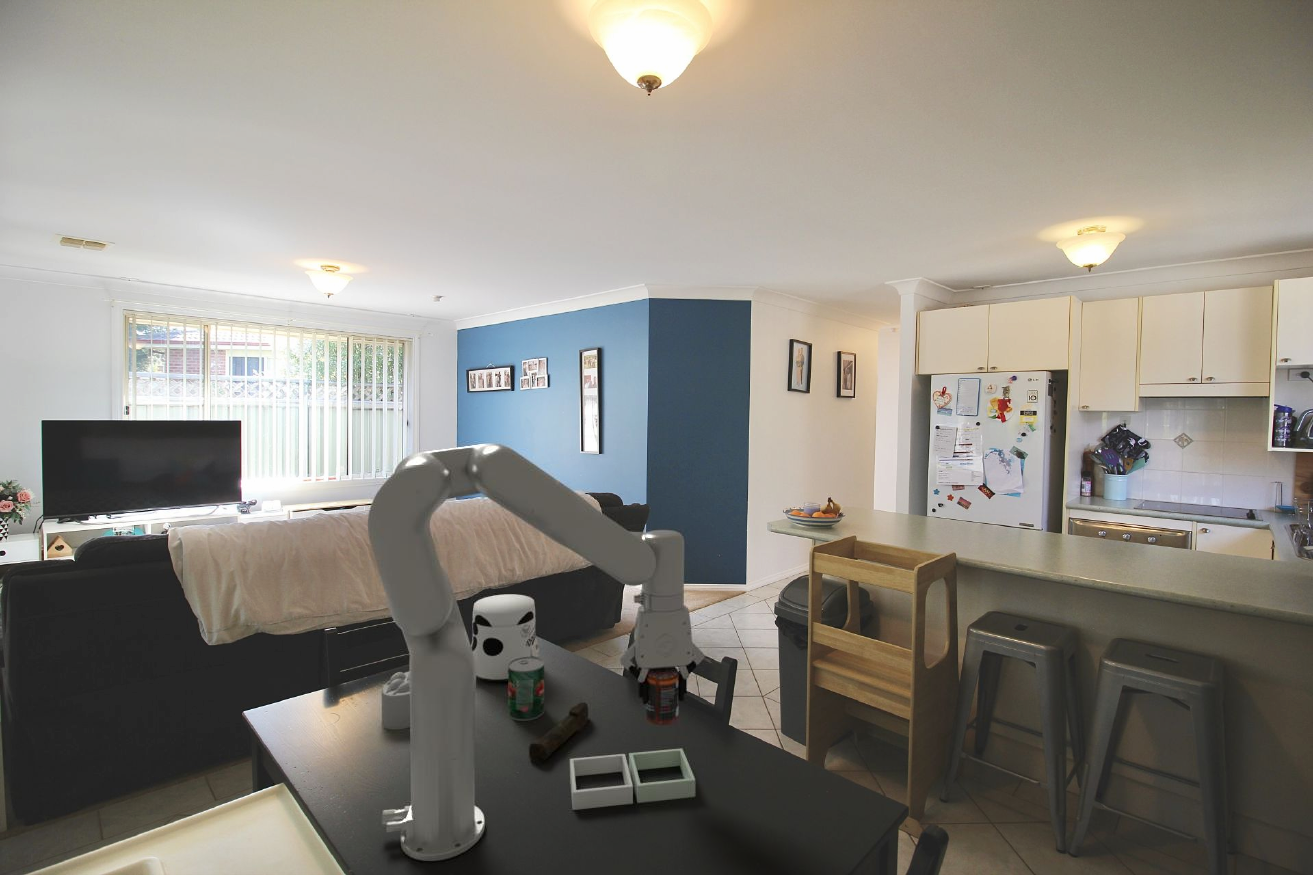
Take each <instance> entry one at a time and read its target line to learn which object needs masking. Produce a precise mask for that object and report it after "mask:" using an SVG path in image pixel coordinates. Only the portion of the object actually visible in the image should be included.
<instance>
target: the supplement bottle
mask: <svg viewBox="0 0 1313 875" xmlns="http://www.w3.org/2000/svg"><path fill="white" fill-rule="evenodd" d="M678 671H679V669H678V668H677V667H667V668H653V669H649V670H648V673H647V675H646V680H647V683H648V703H646V704H645V718H646V720H647V721H648V722H649V723H650V724H652V725H657V726H663V727H664V726H668V725H672V724H674V723H676V721H678V719H679V704H680V703H679V702H680V700H679V698H678V697H679V674H678Z"/></svg>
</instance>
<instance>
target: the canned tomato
mask: <svg viewBox="0 0 1313 875" xmlns="http://www.w3.org/2000/svg"><path fill="white" fill-rule="evenodd" d="M507 682H508V684H507V686H508V687H507V688H508V690H507V692H508V695H507V696H508V698H507V699H508V702H507V706H508V707H507V708H508V712H507V715H508V717H509V718H510V719H511V720H514V721H518V722H529V721H533V720H536V719H538V718H540V717H542V716H543V714H545V661H544V659H542V658H540V657H538V658H537V657H521V658H517V659H514V660H512V661H511V662H510V663H509V664H508V681H507Z"/></svg>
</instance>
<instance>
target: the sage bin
mask: <svg viewBox="0 0 1313 875" xmlns="http://www.w3.org/2000/svg"><path fill="white" fill-rule="evenodd" d="M628 756H629V757H628V769H629V773H630V777H631V781H632V785H633V792H634V795H635V799H636V803H637V804H640V803H649V802H650V803H651V802H660V801H666V800H667V801H668V800H677V799H687V798H694V797H696V778H695V775H694V773H693V771H692V769H691V766H690V764H689V762H688V760H687V756H686V755H685V752H684V750H683V748H682V747H681V748H673V749H672V748H671V749H663V750H651V751H641V752H639V751H638V752H629V753H628ZM670 767H671V768H672V767H679V768H680V770H681V771H680V772H681V773H682V776H683V778H681V779H679V778H678V779H673V780H670V779H669V780H661V781H651V782H643V783H641V781H640V780H641V779H640V777H639V773H638V771H639V770H640V771H641V770H649V769H650V770H651V769H660V768H662V769H663V768H670Z"/></svg>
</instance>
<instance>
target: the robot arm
mask: <svg viewBox="0 0 1313 875" xmlns="http://www.w3.org/2000/svg"><path fill="white" fill-rule="evenodd" d="M479 494H482V495H483V496H484V497H486V498H488V499H489V500H491V501H492V502H493V503H495V504H496V505H499V506H500V507H501V508H503V509H505V510H507V512H509V513H511V514H512V515H514V516H516V517H517V518H519V519H521V521H524V523H526V524H528V525H529V526H531V527H532V528H533V529H536V530H537V531H538V532H540V533H542V534H543V535H544V536H546V537H547V538H549V539H550V540H551V541H553V542H555V543H557V544H559V545H561V546H563V547H565V548H567V549H568V550H571V551H572V552H574V554H577V555H579V556H580V557H581V558H583V559H584V560H586V561H587V562H589V563H590V564H592V565H593V566H595V567H597V568H598V569H600V570H601V571H603V572H604V573H606V574H607V575H609V576H611V577H612V578H613V579H615V580H616V581H618V582H620V583H621V584H623V585H626V586H629V587H636V586H641V589H640V592H639V594H637V595H636V594H635V595H633V603H634V604H638V605H640V606H639V607H638V608H637V612H636V616H635V617H636V619H635V624H634V636H633V643H632V644H631V645H630V647H629V648H628V649H627V650H625V652H624V653H623V654H622V655H621V656H620V657H619V663H620V664H621V665H622V666H623V667H624V668H625V669H626V670H627V671H628V672H629V673H630V674H631V675H632V676H633V677H634V678H635V679H636V680H637V697H638V698H639V699H640V698H641V701H642V704H643V705H646V703H648V683H647V680H646V675H647V673H648V670H649V669H653V668H667V667H675V668H677V669H678V674H679V697H678V698H679V702H684V701H685V695H686V694H687V693H688V691H687V690H688V688H687V687H688V684H687V683H688V679H689V677H690V674H692V673H693V671H694V670H695V669H696V668H697V666H698V665H699V664H700V663H701V662H702V661H703V660H704V659H705V656H706V655H705V654H704V652H703V651H702V650H701V649H700V648H699V647H698V646H697V645H696V644H695V643H694V642H693V633H692V632H693V631H692V622H691V616H690V611H689V608H688V607H687V606H686V605H685V603H684V602H685V583H684V582H685V538H684V536H683V535H682V534H681V533H680V532H678V531H677V530H671V529H670V530H669V529H656V530H650V531H646V532H644V531H629V530H627V529H626V528H624V527H623V526H622V525H620V524H618V522H616V521H614V520H613V519H611V518H610V517H608V516H607V515H605V513H603V512H601V511H600V510H599V509H598V508H596V507H594V506H593V505H592V504H591V503H590V502H588V501H587V500H586V499H585V498H583V497H582V496H581V495H579V494H578V493H577V492H575V491H574V490H573V489H571V488H570V487H568V485H567V486H566V485H565V484H564V483H562V482H561V481H559V480H557V479H556V478H555V477H554V476H552V475H551V474H549V473H547V472H546V471H544V470H543V469H541V467H539V466H538V465H536V464H535V463H533V462H532V461H530V460H529V459H527V458H526V457H524V456H523V455H521V454H520V453H518V452H517V451H515V450H514V449H512V448H511V447H509V446H506V445H503V444H501V443H496V442H491V443H490V442H489V443H488V442H487V443H481V444H477V445H470V446H469V445H468V446H461V447H454V448H448V449H447V448H446V449H439V450H431V451H423V452H417V453H413V454H410V455H408V456H407V457H405V458H403V459H402V460H401V461H400V462H399V464H397V466H396V468H395V470H394V473H392V474H391V476H389V478H388V479H386V481H385V482H384V483H383V484H382V485H381V487H380V488H379V490H377V492H376V494H375V496H374V498H373V499H372V503H371V505H370V508H369V512H368V516H367V517H368V518H367V532H368V538H369V542H370V546H371V548H372V553H373V556H374V559H375V562H376V567H377V570H378V574H379V577H380V580H381V583H382V586H383V589H384V592H385V596H386V599H387V604H388V608H389V609H388V610H389V613H390V616H391V618H392V620H393V621H394V623H395V624H396V625H397V627H398V629H399V628H400V629H401V631H402V634H403V637H404V641H405V643H406V646H407V650H408V652H409V662H408V664H409V665H408V666H409V671H410V677H409V683H410V727H409V728H410V729H409V732H410V733H409V734H410V738H409V739H410V741H409V743H410V805H405V806H404V808H400V809H398V808H397V809H396V808H394V809H384V810H382V816H381V824H382V825H386V830H385V831H386V833H391V832H399V831H401V832H400V847H401V850H402V851H403V852H404V853H405V855H407V857H410V858H412V859H415V860H418V861H423V862H435V861H443V860H444V861H445V860H448V859H451V858H453V857H456V856H459V855H460V854H462V853H465V852H466V851H468V850H469V849H471V848H472V847H473V846H474V845H475V844H476V843H478V841H479V840H480V839H481V838H482V836H483V834H484V832H485V828H486V827H485V826H486V822H485V821H486V818H485V814H484V813H483V811H482V810H481V809H480V808H479V807H478V806H476V804H475V802H476V801H475V796H476V795H475V791H476V790H475V785H476V784H475V783H476V782H475V781H476V780H475V778H476V777H475V776H476V775H475V774H476V772H475V769H476V768H475V767H476V766H475V760H476V759H475V758H476V757H475V751H476V750H475V705H476V704H475V703H476V702H475V701H476V687H477V677H476V665H475V659H474V655H473V651H472V648H471V643H470V642H471V641H470V639H469V636H468V632H467V630H466V627H465V624H464V620H463V617H462V615H461V614H462V613H461V612H460V609H459V608H460V607H459V605H458V602H457V599H456V595H455V593H454V590H453V586H452V582H451V580H450V577H449V575H448V572H447V571H446V570H445V569H444V568H443V567H442V565H441V562H440V560H439V559H440V558H439V556H438V553H437V550H436V545H435V541H434V539H433V536H432V533H431V532H432V531H431V519H432V517H433V515H434V513H435V512H436V511H437V509H439V507H441V506H442V505H443V504H444V503H445V502H446V500H451V499H455V498H463V497H468V496H474V495H479ZM633 657H634V659H635V662H636V665H635V664H634V663H632V661H631V660H632V659H633Z"/></svg>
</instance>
